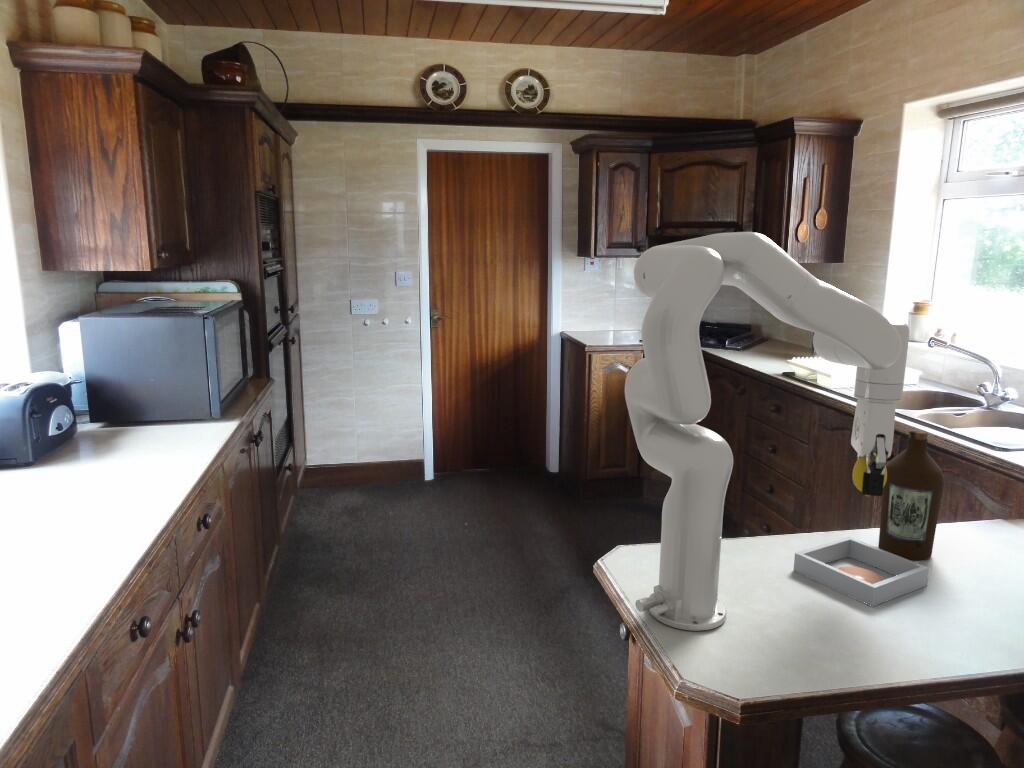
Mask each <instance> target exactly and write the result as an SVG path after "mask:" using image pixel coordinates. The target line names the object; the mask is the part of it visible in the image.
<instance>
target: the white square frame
mask: <svg viewBox="0 0 1024 768" xmlns="http://www.w3.org/2000/svg"><path fill="white" fill-rule="evenodd" d="M849 556H850V557H849ZM847 557H849V558H852V557H853V558H852V559H854V558H855V560H857V561H859V560H860V561H859V562H861V561H862V563H864V562H865V563H864V564H866V563H867V564H866V565H869V566H871V565H872V566H871V567H874V568H876V567H877V569H878V568H879V570H881V571H883V570H884V571H883V572H886V571H887V572H886V573H888V572H889V573H888V574H891V573H892V574H891V575H893V574H894V575H893V576H891V577H889V578H885V579H884V578H883V577H882V576H881V575H880V574H878V573H877V572H875V571H873V570H871V569H866V568H863V567H859V566H850V565H849V566H840V567H837V568H836V567H834V566H832V565H830V564H828V563H827V562H829V563H831V561H832V562H834V560H835V561H838V560H841V559H843V558H847ZM793 561H794V562H793V572H797V573H798V572H799V573H798V574H800V573H801V575H802V574H803V575H802V576H805V577H807V576H808V577H807V578H809V577H810V578H809V579H811V578H812V579H811V580H813V579H814V580H813V581H815V580H816V581H815V582H817V581H818V583H820V584H822V583H823V584H822V585H824V586H826V585H827V586H826V587H828V586H829V587H828V588H830V587H831V588H830V589H833V588H834V589H833V590H835V591H837V590H838V591H837V592H839V591H840V592H839V593H841V592H842V594H843V593H844V594H843V595H845V594H846V595H845V596H848V595H849V596H848V597H850V596H851V597H850V598H852V597H853V598H852V599H854V598H856V599H857V600H856V599H855V600H856V601H858V600H860V601H863V602H865V603H867V604H868V605H867V604H866V605H867V606H869V605H871V606H874V607H875V605H876V606H878V605H877V604H879V605H881V604H880V603H882V602H884V603H886V602H885V601H887V600H889V601H891V600H890V599H892V600H894V599H896V598H895V597H897V598H899V597H898V596H900V595H902V596H904V595H903V594H905V595H907V594H909V592H910V593H912V592H911V591H913V592H915V591H917V589H918V590H920V589H922V587H923V588H925V587H927V586H928V580H929V574H930V573H929V572H930V567H928V566H925V565H924V564H920V563H919V562H916V561H912V560H908V559H905V558H902V557H900V556H897V555H895V554H892V553H889V552H887V551H884V550H882V549H880V548H879V547H877V546H874V545H871V544H868V543H866V542H863V541H861V540H859V539H855V538H853V537H850V536H847V537H844V538H840V539H837V540H833V541H831V542H827V543H824V544H820V545H818V546H814V547H810V548H807V549H804V550H800V551H797V552H795V553H794V559H793ZM825 563H826V564H825ZM895 575H897V576H895ZM914 590H915V591H914ZM906 593H907V594H906ZM900 597H901V596H900ZM893 598H894V599H893ZM860 601H859V602H860ZM863 602H862V603H863ZM887 602H888V601H887ZM865 603H864V604H865ZM882 604H883V603H882ZM871 606H870V607H871Z"/></svg>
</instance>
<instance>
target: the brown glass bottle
mask: <svg viewBox="0 0 1024 768" xmlns="http://www.w3.org/2000/svg"><path fill="white" fill-rule="evenodd" d="M908 434H909V436H908V437H907V443H906V445H907V446H906V448H905V449H904V450H903V451H902V452H900V453H899V454H897V455H896V456H895V457H893V458H892V459H891V460H890V461H888V462H887V463H886V464H885V466H886V470H887V480H886V483H885V486H884V487H883V493H882V496H881V504H880V505H881V506H880V520H879V535H878V548H879V549H882V550H884V551H887V552H889V553H892V554H895V555H897V556H900V557H902V558H905V559H908V560H910V561H913V562H916V561H917V562H923V561H927V560H929V559H930V558H932V554H933V548H934V544H935V543H934V541H935V537H936V536H935V535H936V530H937V524H938V520H939V519H938V518H939V513H940V507H941V504H942V498H943V494H944V488H945V477H944V473H943V471H942V469H941V467H940V466H939V465H938V463H937V462H936V461H935V460H934V459H933V457H931V455H930V454H929V453H928V451H927V447H928V441H929V440H928V435H929V433H928V432H927V431H926V430H923V429H910V430H909V431H908Z"/></svg>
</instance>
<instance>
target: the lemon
mask: <svg viewBox="0 0 1024 768" xmlns="http://www.w3.org/2000/svg"><path fill="white" fill-rule="evenodd" d="M870 456H875V455H874V454H872V453H870ZM873 461H875V460H871V463H872V462H873ZM864 472H866V455H865V456H864V457H861V458H859V459H858V460H857V459H856V462H855V463H854V465H853V468H852V475H851V476H852V482H853V484H854V487H856V489H857V490H859V491H860V492H861V493H862V484H863V475H864ZM886 480H887V470H886V465H885V474H884V484H883V487H884V486H885V483H886ZM864 496H865V497H870V496H871V495H864Z"/></svg>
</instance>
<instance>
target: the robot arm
mask: <svg viewBox="0 0 1024 768" xmlns="http://www.w3.org/2000/svg"><path fill="white" fill-rule="evenodd" d="M633 279H634V282H635V285H636V286H637V288H638V289H639V291H640V292H641V293H642V294H643V295H645V296H646V297H648V298H651V299H652V300H651V301H650V303H649V306H648V308H647V309H646V312H645V314H644V317H643V321H642V326H641V343H642V347H643V354H644V358H640V359H639V360H637V361H636V362H635V363H634V364H633V365H632V366H631V368H630V369H629V371H628V372H627V374H626V377H625V382H624V397H625V398H624V399H625V403H626V407H627V410H628V415H629V418H630V423H631V427H632V431H633V435H634V438H635V442H636V446H637V449H638V450H639V451H638V452H639V453H640V455H641V457H642V459H643V460H644V461H645V462H646V463H647V464H648V465H649V466H651V467H652V468H653V469H655V470H656V471H658V472H660V473H663V474H665V475H666V476H668V477H670V479H671V485H670V487H669V489H668V492H667V493H666V496H665V497H664V499H663V505H662V510H661V532H660V533H661V535H660V550H659V551H660V555H659V573H658V574H659V575H658V584H657V585H653V593H651V594H650V595H649V596H648V597H643V598H639V599H637V600H636V601H635V603H634V605H635V608H636V611H638V612H639V613H641V612H642V613H643V612H646V611H649V613H650V614H651V615H652V617H653V618H655V619H656V620H657V621H659V622H661V623H662V624H664V625H666V626H669V627H672V628H675V629H680V630H684V631H690V632H691V631H695V632H698V631H708V630H709V631H710V630H714V629H717V628H718V627H720V626H721V625H723V624H724V622H725V621H726V619H727V608H726V606H725V604H724V603H723V602H721V601H720V599H718V594H719V592H718V591H719V582H720V581H719V579H720V565H721V563H720V562H721V551H722V535H723V534H722V533H723V518H724V506H725V501H726V499H725V498H726V493H727V490H728V485H729V482H730V480H731V475H732V471H733V466H734V455H733V452H732V451H733V450H732V449H731V447H730V445H729V443H728V442H727V441H726V439H725V438H723V437H722V436H721V435H720V434H718V433H717V432H715V431H713V430H711V429H709V428H707V427H704V426H701V425H699V424H697V423H699V422H702V420H703V419H705V418H706V417H707V415H708V413H709V412H710V408H711V405H712V398H711V396H712V395H711V394H712V393H711V389H710V383H709V380H708V379H709V378H708V374H707V369H706V365H705V361H704V356H703V351H702V346H701V339H700V325H701V322H702V317H703V315H704V313H705V311H706V309H707V308H708V306H709V304H710V303H711V301H712V300H713V298H714V297H715V296H716V294H717V293H718V292H719V290H720V289H721V287H722V286H732V287H736V288H738V289H739V290H740V291H742V292H743V293H745V294H746V295H747V296H748V297H750V298H751V299H752V300H753V301H755V302H756V303H757V304H759V305H760V306H761V307H762V308H764V309H765V311H767V312H768V313H770V314H771V315H773V317H775V318H776V319H778V320H779V321H781V322H783V323H785V324H788V325H790V326H792V327H796V328H798V329H801V330H806V331H808V332H813V333H814V335H813V339H812V346H813V349H814V351H815V352H816V354H817V355H818V356H819V357H821V358H822V359H823V360H826V361H829V362H831V363H836V364H842V365H846V366H853V367H856V372H855V382H854V383H855V384H854V390H853V391H854V393H853V394H854V396H853V397H854V399H856V400H857V401H856V405H855V411H854V416H853V417H854V418H853V423H852V429H851V430H852V431H851V436H850V437H851V438H850V445H851V446H852V448H853V449H854V450H855V452H856V453H857V456H856V461H857V460H858V459H859V458H861V457H864V456H865V455H866V472H864V475H863V484H862V492H861V493H862V495H864V496H865V495H870V496H873V497H875V496H876V497H882V493H883V484H884V474H885V466H886V464H887V459H888V458H890V457H891V455H892V452H893V451H892V449H893V445H894V436H895V435H894V434H895V421H896V404H898V403H902V401H903V394H904V393H903V392H904V384H905V374H906V365H907V357H908V347H909V342H910V341H909V340H910V327H909V326H908V324H907V323H906V322H904V321H898V320H889V319H887V318H886V317H885V316H884V315H883V314H881V313H880V312H879V311H878V310H877V309H875V308H874V307H873V306H871V305H869V304H867V303H866V302H865V301H863V300H861V299H858V298H857V297H856V296H855V297H854V296H853V295H850V294H848V293H847V292H845V291H842V290H840V289H839V288H836V287H835V286H833V285H831V284H829V283H826V282H825V281H823V280H820V279H818V278H817V277H816V276H814V275H813V274H812V273H810V272H809V271H808V270H807V269H806V268H805V267H803V266H802V265H801V264H800V263H798V261H796V260H795V259H794V258H792V257H791V256H790V255H789V254H788V253H787V252H786V251H785V250H784V249H783V248H782V247H780V246H779V245H777V243H775V242H774V241H773V240H772V239H771V238H769V237H767V236H766V235H765V234H762V233H758V232H753V231H737V232H734V231H733V232H720V233H719V232H717V233H713V234H707V235H705V236H704V235H703V236H700V237H694V238H689V239H685V240H681V241H680V240H679V241H674V242H669V243H665V244H660V245H655V246H652V247H650V248H648V249H646V250H645V251H644V252H642V253H641V254H640V256H639V257H638V259H637V260H636V262H635V265H634V268H633ZM870 453H872V454H874V455H875V456H870ZM871 460H875V461H873V462H872V463H871Z"/></svg>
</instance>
